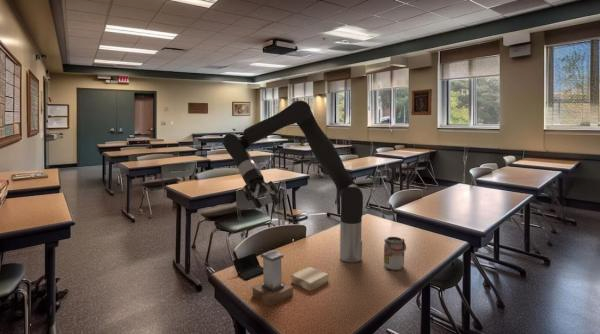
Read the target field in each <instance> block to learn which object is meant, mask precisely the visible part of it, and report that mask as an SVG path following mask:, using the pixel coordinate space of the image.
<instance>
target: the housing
mask: <svg viewBox="0 0 600 334" xmlns="http://www.w3.org/2000/svg"><path fill="white" fill-rule="evenodd" d="M260 258H262V267H263V274H262V275H263V276H262V277H263V282H262V283H263V284H262V287H263V288H265V289H267V290H269V291H271V292H272V293H273V292H275V291H278V290H280V289H282V288H284V285H283V284H282V282H283V280H282V279H283V278H282V275H283V274H282V258H284V254H282V253H281V252H278V251H275V250H273V249H272V250H268V251H266V252H262V253H261V254H260Z"/></svg>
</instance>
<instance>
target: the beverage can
mask: <svg viewBox="0 0 600 334" xmlns="http://www.w3.org/2000/svg"><path fill="white" fill-rule="evenodd" d="M406 250H407V245H406V243H405V239H404V238H401V237H398V236H388V237H387V238H386V239H384V244H383V266H384V267H385V268H386V269H387V270H389V269H390V270H389V271H394V270H397V271H401V270H403V268H404V267H405V252H406Z"/></svg>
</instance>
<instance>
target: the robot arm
mask: <svg viewBox="0 0 600 334" xmlns="http://www.w3.org/2000/svg"><path fill="white" fill-rule="evenodd" d="M294 124H296V125H297V126H298V127H299V129H300V130H301V132H302V134H303V135H304V136H305V139H306V141H307V144H308V146H309V147H310V150H311V151H312V154H313V155H314V157H315V159H316V160H317V162H318V164H319V165H320V166H321V168H322V169H323V170H324V172H325V173H326V174H327V175H328V176H329V178H330V179H331V180H332V182H333V184H334V185H335V188H336V189H337V191H338V193H339V196H340V217H339V218H340V219H339V220H340V221H339V222H340V224H339V225H340V227H339V228H340V229H339V258H340V261H342V262H346V263H357V262H363V239H362V224H363V223H362V221H363V220H362V219H363V212H364V211H363V209H364V194H363V191H362V190H361V188H360V187H359V185H357V184H356V182H355V181H354V180H353V178H352V177H351V175H350V174H349V173H348V171H347V170H346V167H345V165H344V163H343V160H342V158H341V156H340V154H339V152H338V150H337V149H336V147H335V145H334V144H333V142H332V140H331V139H330V138H329V137H328V136H327V134H326V133H325V132H324V130H322V128H321V126H320V125H319V124H318V122H317V120H316V118H315V117H314V114H313V112H312V110H311V106H310V104H309V103H308V102H307V101H305V100H303V99H298V100H295V101H293V102H291V104H289V105H288V106H287V107H286V108H284V109H282V110H281V111H279V112H278V113H276V114H274V115H272V116H269V117H267V118H265V119H264V120H261V121H259V122H256V123H254V124H252V125H250V126H248V127H246V128H245V129H244V130H243V134H242V135H241V136H238V135H237V134H236V133H234V132H229V133H226V134H225V135H224V137H223V139H222V143H223V144H222V145H223V147H224V148H225V150H226V151H227V152H228V154H229V155H230V157H231V158H232V160H233V161H234V164H235V165H236V167H237V169H238V172H239V174H240V176H241V178H242V179H243V182H244V183H245V184H244V186H243V187H242V193H243V194H244V196H245V198H246V201H248V202H253V204H254V205H255V207H256V209H258V210H261V209H262V207H263V206H262V203H261V201H260V199H259V197H258V196H260V195H265V196H268V197H270V198H271V199H270V200H272V202H273V204H274V206H278V204H279V203H280V200H279V198H278V196H277V195H278V193H279V190H278V189H277V187H276V185H275V184H274V182H273V181H271V180H270V181H269V182H267V181H265V179H264V176H263V173H262V172H261V170H260V168H259V167H258V165H257V164H256V162H255V160H253V157H252V156H251V155H250V153H249V152H248V151H247V150H248V149H249V148H250V147H251V146H252V145H253V144H254V143H256V142H259V141H261V140H263V139H266V138H267V137H268V136H272V134H274V133H275V132H277V131H279V130H282V129H283V128H285V127H289V126H291V125H294ZM251 192H252V193H251Z"/></svg>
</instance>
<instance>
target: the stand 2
mask: <svg viewBox="0 0 600 334" xmlns="http://www.w3.org/2000/svg"><path fill="white" fill-rule="evenodd" d="M329 278H330V277H329V274H328V273H326V272H324V271H323V270H319V269H317V268H314V267H311V266H306V267H305V268H303V269H300V270H298V271H296V272H294V273H291V275H290V282H291V283H292V284H294V285H295V286H296V285H297V286H299V287H301V288H303V289H305V290H307V291H308V292H309V291H310V292H311V291H314V290H316V289H318V288H319V287H321V286H323V285H324V284H327V283H328V282H329V281H330V280H329Z"/></svg>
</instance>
